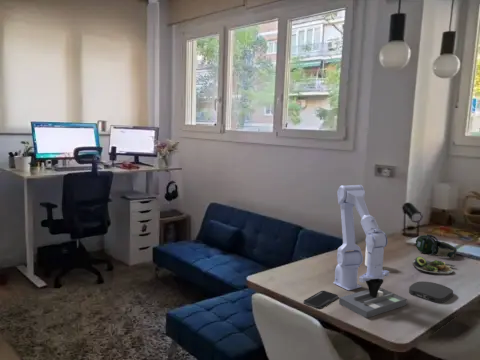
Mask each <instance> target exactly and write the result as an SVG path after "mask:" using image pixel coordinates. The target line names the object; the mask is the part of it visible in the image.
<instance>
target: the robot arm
mask: <svg viewBox="0 0 480 360" xmlns="http://www.w3.org/2000/svg"><path fill="white" fill-rule="evenodd" d="M336 193H337V195H336V196H337V202H338V203H337V204H338V206H339V205H340V217H341V232H342V245H340V246H339V247H338V248H337V253H336V254H337V255H336V262H337V264H336V267H335V271H334V281H333V284H334V285H337V286H338V287H340V288H342V289H344V290H345V291H352V290H356V289H360V288H362V285H360V284H358V281H359V283H366V285H367V287H368V289H369V293H370V296H372V297H376V296H377V293H378V290H379V288H381V286H382V284H383V283H384V279H385V277H389V276H390V271H389V270H386V269H383V268H384V267H383V265H384V254H385V253H384V251H385V247H387V245H388V242H389V241H388V236H387V233H385V232H384V231H383V230H382V229H380V226H379V224H378V222H377V220H376V218H375V216H373V215H371V214H370V211H369V209H368V206H367V203H366V200H365V197H366V191H365V187H364V186H363V185H362V184H352V185H351V184H350V185H342V184H341V185H340V186H339V187H338V189H337V192H336ZM354 207H355V209H356V211H357V213H358V215H359V217H360V218H361V220H360V224H361V227H362V230H363V232H364V234H365V244H366V245H367V251H368V261H367V266H366V272H364V273H363V274H362V275H360V276H358V275H359V268H360V266H361V265H362V264H363V262H364V255H363V252H362V249H361V247H360V246H359V245H358V244H356V233H355V222H354V221H355V219H354ZM366 245H365V246H366Z"/></svg>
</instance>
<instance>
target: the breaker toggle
mask: <svg viewBox="0 0 480 360" xmlns="http://www.w3.org/2000/svg"><path fill="white" fill-rule="evenodd" d="M381 296H383V292H381V291H379V290H378V293H377V296H376V297H381Z"/></svg>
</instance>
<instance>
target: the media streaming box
mask: <svg viewBox="0 0 480 360" xmlns="http://www.w3.org/2000/svg"><path fill="white" fill-rule="evenodd" d="M408 293H409V294H410V295H411V296H414V297H416V298H419V299H423V300H425V301H429V302H433V303H437V304H438V303H441V304H443V303H445V302H447V301H449V300H450V299H451V298H452V297H453V296H454V290H453V289H451V288H450V287H448V286H445V285H443V284H440V283H436V282H432V281H416V282H414V283H412V284H411V285H409V287H408Z"/></svg>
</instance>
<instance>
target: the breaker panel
mask: <svg viewBox="0 0 480 360" xmlns="http://www.w3.org/2000/svg"><path fill="white" fill-rule="evenodd" d="M379 291H381V292H383V296H381V297H372V296H370V293H369V288H368V289H365V290H361V291H358V292H354V293H351V294H348V295H347V294H346V295H344V296H340V297H338V298H339V301H338V303H339V305H341V306H343V307H345V308H346V309H349V310H350V311H352V312H354V313H356V314H357V315H360V316H361V317H363V318H366V319H368V318H371V317H374V316H377V315H380V314H384V313H386V312H390V311H393V310H395V309H398V308H402V307H404V306H407V298H406V297H403V296H401V295H398V294H397V293H394V292H392V291H389V290H387V289H384V288H383V287H380V288H379Z"/></svg>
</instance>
